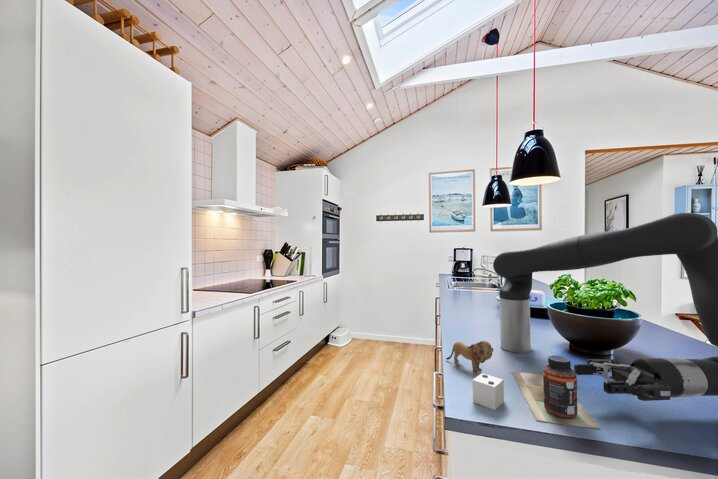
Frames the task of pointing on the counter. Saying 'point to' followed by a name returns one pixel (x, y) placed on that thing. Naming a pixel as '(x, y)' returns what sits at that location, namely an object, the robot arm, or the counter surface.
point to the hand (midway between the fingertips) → (589, 377)
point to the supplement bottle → (560, 387)
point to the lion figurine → (472, 353)
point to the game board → (535, 399)
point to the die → (488, 391)
